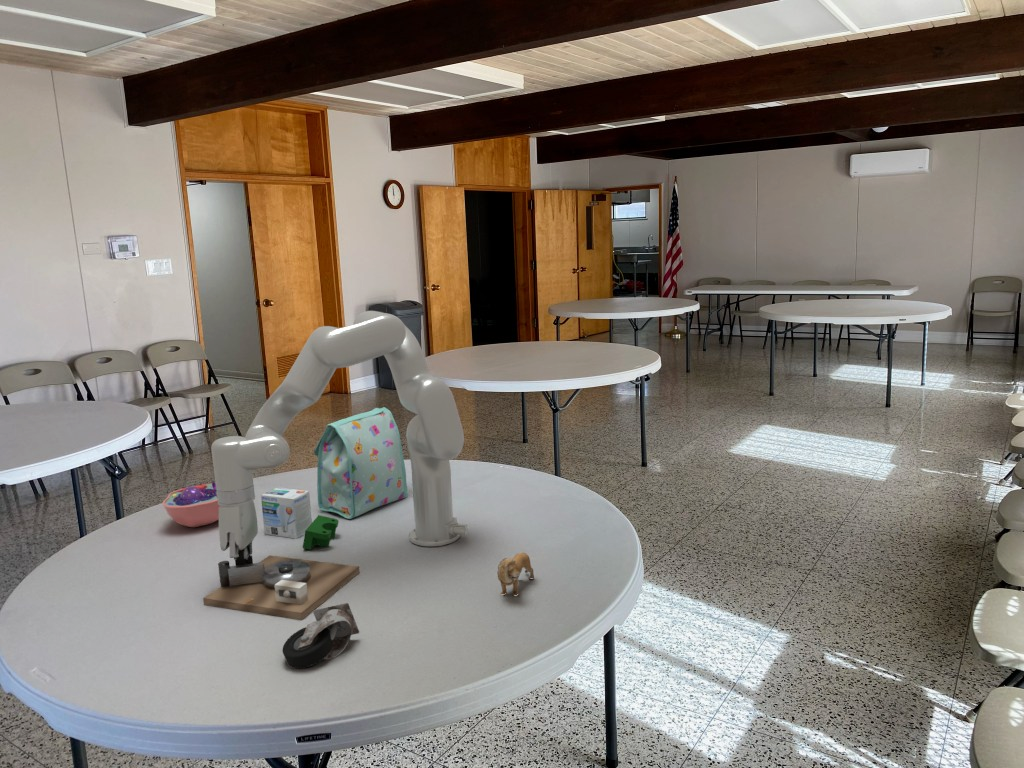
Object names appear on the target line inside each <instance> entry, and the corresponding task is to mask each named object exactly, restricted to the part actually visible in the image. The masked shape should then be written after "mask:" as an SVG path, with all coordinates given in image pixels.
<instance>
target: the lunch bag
mask: <svg viewBox="0 0 1024 768" xmlns="http://www.w3.org/2000/svg"><path fill="white" fill-rule="evenodd" d="M402 447H403V446H402V441H401V435H400V431H399V427H398V425H397V423H396V421H395V418H394V416H393V414H392V411H390V410H389V409H388V408H386V407H385V406H383V407H381V408H379V407H375V408H373V409H372V410H370V411H366V412H362V413H358V414H355V415H352V416H349V417H346V418H343V419H339V420H337V421H334V422H332V423H328V424H327V425H326V427H325V428H324V431H323V433H322V435H321V437H320V438H319V440H318V442H317V444H316V446H315V449H314V450H313V453H314V454H313V455H314V456H316V457H317V472H316V473H317V475H316V476H317V480H316V481H317V483H316V486H317V489H316V491H317V505H318V508H319V510H321V511H323V512H331V513H335V514H337V515H340V516H341V517H343V518H345V519H347V520H348V519H349V520H351V519H353V518H356V517H359V516H361V515H363V514H365V513H367V512H369V511H372V510H374V509H376V508H379V507H382V506H384V505H388V504H390V503H391V504H392V503H393V502H396V501H399V500H403V499H406V498H407V496H408V488H407V486H408V485H407V484H408V483H407V472H406V471H407V470H406V465H405V459H404V452H403V448H402Z"/></svg>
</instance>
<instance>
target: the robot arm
mask: <svg viewBox="0 0 1024 768" xmlns="http://www.w3.org/2000/svg"><path fill="white" fill-rule="evenodd" d="M416 337H417V336H415V335H414V333H413V332H412V331H411V329H409V327H407V326H406V324H404V322H403V321H402V320H401V318H399V317H398V316H396V315H394V314H391V313H386V312H383V311H377V310H366V311H363V312H361V313H359V314H358V315H357V316H356V317H355V319H354V321H353V324H351V325H347V326H343V327H335V326H331V325H323V326H320V327H317V328H316V329H315V330H313V332H311V334H310V336H308V339H307V340H306V342H305V344H304V346H303V347H302V349H301V350H300V352H299V354H298V356H297V358H296V359H295V361H294V363H293V364H292V366H291V367H290V369H289V372H287V374H286V376H285V378H284V379H283V381H282V383H281V384H279V386H278V387H277V388H276V389H275V390H274V392H273V393H272V394H271V395H270V396H269V397H268V398H267V399H266V401H265V402H264V404H263V405H262V406H261V408H260V409H259V411H258V412H257V414H256V416H255V417H254V419H253V421H252V422H251V424H250V426H249V427H248V430H247V432H246V434H245V437H244V436H240V435H231V436H229V435H228V436H225V437H221V438H218V439H215V440H214V441H213V442H212V444H211V447H210V448H211V457H212V465H213V473H214V474H213V475H214V482H215V483H216V491H217V499H218V504H219V505H220V506H219V519H218V534H219V543H220V544H219V545H220V550H221V551H223V552H224V551H227V550H228V549H229V558H230V559H233V560H234V561H235V566H237V565H245V564H254V560H253V555H252V554H253V541H254V539H255V538H256V537H257V535H258V533H259V527H258V518H257V511H256V506H255V499H256V494H255V485H254V476H253V470H269V469H270V470H271V469H277V468H278V467H281V466H283V464H285V463H286V462H287V461H288V460H289V457H290V454H291V453H290V452H291V451H290V446H289V443H288V441H287V440H286V439H285V438H284V437H283V435H284V433H285V431H286V430H287V428H288V426H289V425H290V424H291V422H292V421H293V420H294V419H295V418H296V416H297V415H299V413H301V412H302V411H303V410H305V409H307V408H309V407H311V406H313V405H314V404H316V403H317V402H318V401H319V400H320V398H321V397H322V395H323V392H324V391H325V389H326V387H327V386H328V385H329V382H330V381H331V379H332V377H333V375H334V373H336V372H335V371H336V370H337V369H342V368H347V367H352V366H355V365H358V364H362V363H364V362H368V361H370V360H373V359H376V358H379V357H382V356H384V358H385V360H386V362H387V365H388V367H389V368H390V369H389V370H390V371H391V375H392V379H393V382H394V385H395V388H396V392H397V395H398V398H399V402H400V404H401V406H402V407H404V408H405V409H406V410H407V411H409V412H410V413H411V412H412V413H414V414H416V415H414V416H413V418H411V420H409V422H408V424H407V426H406V427H407V428H406V433H405V435H406V444H407V448H408V453H409V457H410V458H409V459H410V466H411V477H412V478H411V482H412V483H411V484H412V497H413V513H414V514H413V515H414V528H413V530H411V532H409V541H410V542H411V543H412V544H415V545H417V546H420V547H440V546H446V545H449V544H452V543H454V542H455V541H457V540H458V539H460V536H467V535H468V534H469V528H468V525H467V524H463V523H461V524H459V523H458V519H457V517H454V514H453V513H454V512H453V511H454V510H453V494H452V493H453V492H452V474H451V473H452V471H451V470H452V469H451V462H450V461H451V460H453V459H455V458H457V457H458V456H459V455H460V453H461V452H462V450H463V447H464V443H465V435H464V429H463V425H462V422H461V418H460V415H459V411H458V407H457V404H456V401H455V397H454V394H453V392H452V391H451V388H450V387H449V385H448V383H446V382H445V381H443V379H440V378H439V377H435V376H433V375H432V374H431V373H430V370H429V367H428V364H427V361H426V359H425V358H426V357H425V356H424V353H423V350H422V348H421V344H420V343H419V341H418V339H417V338H416Z"/></svg>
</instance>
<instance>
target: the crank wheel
mask: <svg viewBox="0 0 1024 768" xmlns="http://www.w3.org/2000/svg"><path fill="white" fill-rule="evenodd" d="M217 566H218V574H219V575H218V576H219V582H220V583H219V584H220V587H228V586H232V585H240V584H248V583H256V582H263V585H264V586H265V587H267V588H270V589H275V584H276V583H278V582H279V581H281V580H287V581H295V582H302V583H305V582H306V581H307V580H309V578H310V576H311V575H310V566H309V564H308V563H306V562H304V561H297V560H292V561H284V562H279V563H276V564H273V565H271V566H269V567H267V568H266V569H264V562H262V563H259V562H255V563H254V562H253V564H245V565H237V566H236V565H230V561H228V560H222V561H219V562H218V563H217Z"/></svg>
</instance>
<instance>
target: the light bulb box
mask: <svg viewBox="0 0 1024 768" xmlns="http://www.w3.org/2000/svg"><path fill="white" fill-rule="evenodd" d="M260 497H261V499H260V500H261V507H262V508H261V510H262V521H263V533H264V535H270V536H277V537H283V538H289V539H296V540H297V539H300V538H301V537H302V536H305V531H306V529H307V528H308V527H309V526H310V525H311V523H312V522H313V521H312V507H311V497H310V491H309V490H303V489H296V488H295V489H294V488H285V487H275V488H272V489H271V490H269V491H267V492H264V493H263V494H261V495H260Z"/></svg>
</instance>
